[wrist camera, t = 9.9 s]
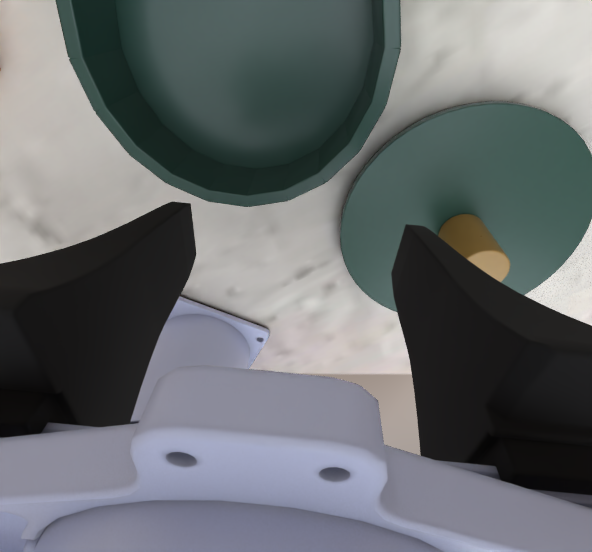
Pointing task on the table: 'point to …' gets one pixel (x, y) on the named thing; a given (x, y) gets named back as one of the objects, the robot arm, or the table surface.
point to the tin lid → (473, 195)
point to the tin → (236, 87)
